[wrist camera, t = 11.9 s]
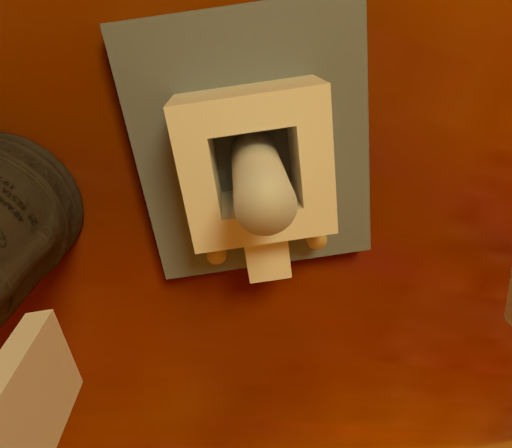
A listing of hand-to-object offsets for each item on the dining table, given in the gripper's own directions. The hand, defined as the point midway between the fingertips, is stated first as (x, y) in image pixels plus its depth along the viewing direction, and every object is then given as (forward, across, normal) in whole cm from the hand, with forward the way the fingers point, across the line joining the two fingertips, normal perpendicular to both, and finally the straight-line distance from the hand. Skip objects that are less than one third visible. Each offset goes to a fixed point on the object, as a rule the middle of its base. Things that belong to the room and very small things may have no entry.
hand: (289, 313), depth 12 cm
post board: (+20, 0, 0) cm, 20 cm away
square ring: (+18, 0, -2) cm, 18 cm away
